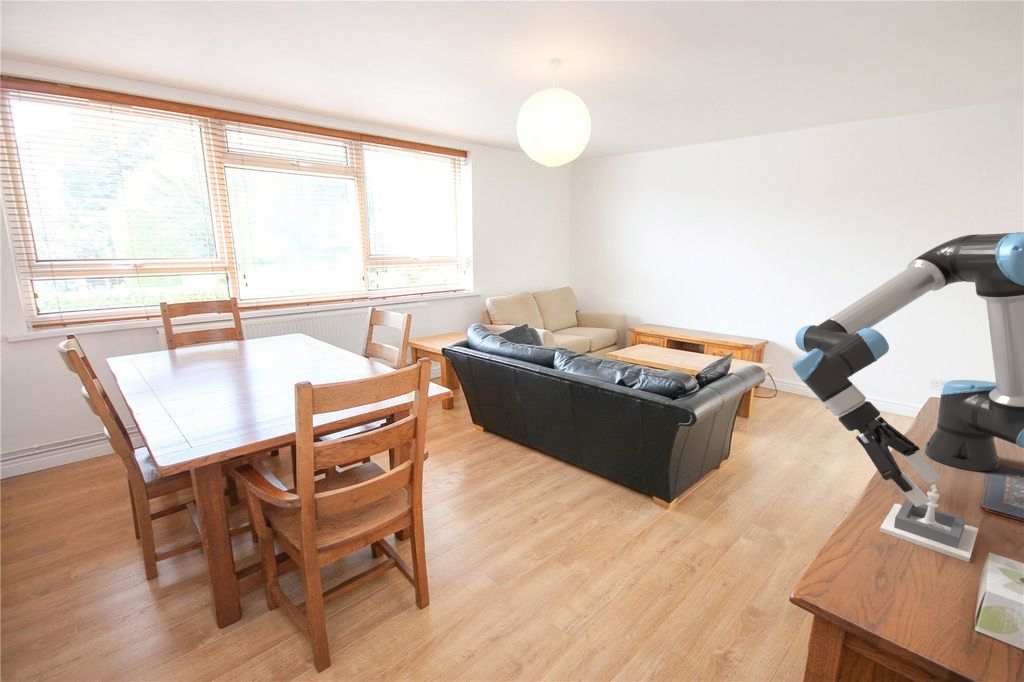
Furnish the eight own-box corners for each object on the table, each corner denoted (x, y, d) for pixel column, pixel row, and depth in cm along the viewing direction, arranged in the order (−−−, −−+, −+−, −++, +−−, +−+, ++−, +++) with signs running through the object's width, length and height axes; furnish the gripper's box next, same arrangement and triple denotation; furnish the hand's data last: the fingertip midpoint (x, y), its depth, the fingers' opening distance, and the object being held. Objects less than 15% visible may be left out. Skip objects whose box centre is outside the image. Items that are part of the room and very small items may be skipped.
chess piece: (936, 523, 101) (943, 481, 99) (948, 536, 96) (955, 492, 94) (909, 519, 102) (914, 478, 100) (919, 532, 98) (926, 489, 96)
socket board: (894, 507, 109) (896, 493, 108) (977, 532, 98) (980, 518, 98) (879, 531, 100) (881, 516, 99) (969, 562, 90) (971, 546, 89)
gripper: (852, 403, 117) (922, 478, 108) (820, 431, 101) (899, 521, 92) (880, 388, 112) (956, 465, 103) (851, 414, 96) (938, 508, 87)
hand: (929, 491), depth 98 cm, fingers open, 13 cm apart
